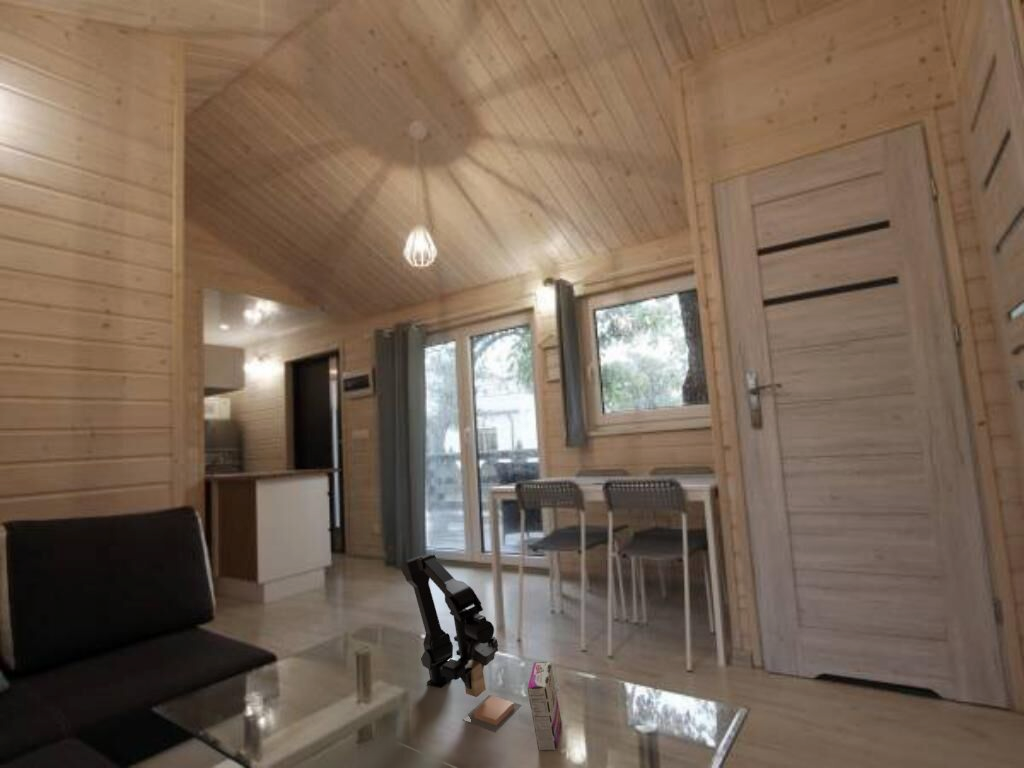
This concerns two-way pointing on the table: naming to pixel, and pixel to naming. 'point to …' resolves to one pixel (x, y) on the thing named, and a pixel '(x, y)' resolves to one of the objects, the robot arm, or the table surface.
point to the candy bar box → (544, 706)
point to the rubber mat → (488, 725)
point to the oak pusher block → (476, 679)
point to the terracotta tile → (494, 710)
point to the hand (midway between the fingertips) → (474, 684)
